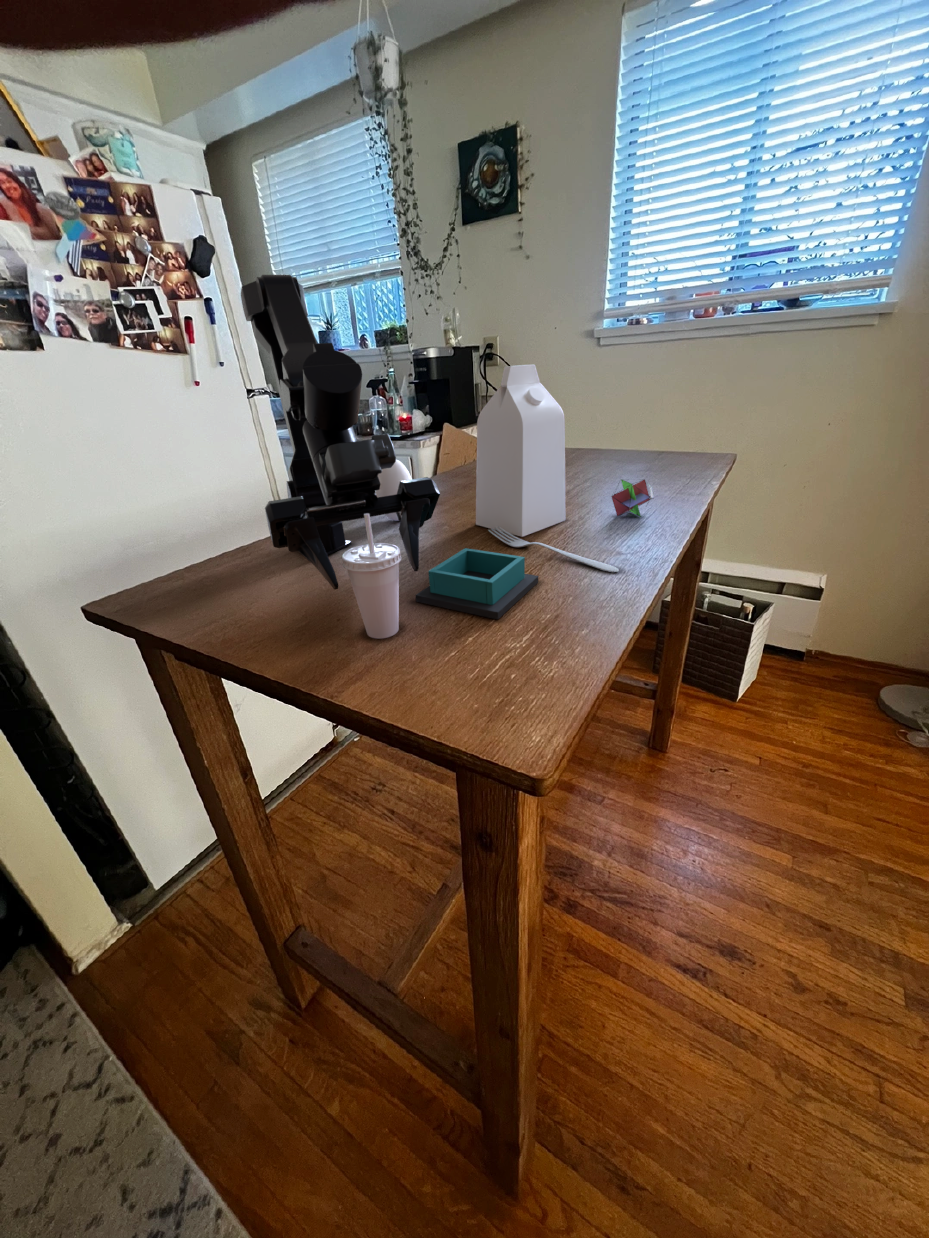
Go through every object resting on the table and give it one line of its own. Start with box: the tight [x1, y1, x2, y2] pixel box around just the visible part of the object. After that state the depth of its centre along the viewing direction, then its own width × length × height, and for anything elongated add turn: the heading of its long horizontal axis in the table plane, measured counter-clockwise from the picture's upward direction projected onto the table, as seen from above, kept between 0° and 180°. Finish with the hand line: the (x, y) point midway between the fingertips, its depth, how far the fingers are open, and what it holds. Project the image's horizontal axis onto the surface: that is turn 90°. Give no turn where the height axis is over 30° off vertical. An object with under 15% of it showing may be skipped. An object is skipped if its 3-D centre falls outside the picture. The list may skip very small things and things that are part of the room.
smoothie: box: [341, 513, 402, 639], centre depth 55 cm, size 6×6×14 cm
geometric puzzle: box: [610, 478, 655, 518], centre depth 91 cm, size 7×7×8 cm
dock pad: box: [415, 547, 539, 621], centre depth 66 cm, size 12×12×4 cm
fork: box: [487, 526, 620, 573], centre depth 77 cm, size 3×24×2 cm, turn 43°
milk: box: [475, 363, 567, 538], centre depth 87 cm, size 12×12×26 cm
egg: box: [375, 459, 413, 522], centre depth 96 cm, size 7×7×12 cm
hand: (377, 578), depth 54 cm, fingers open, 9 cm apart
